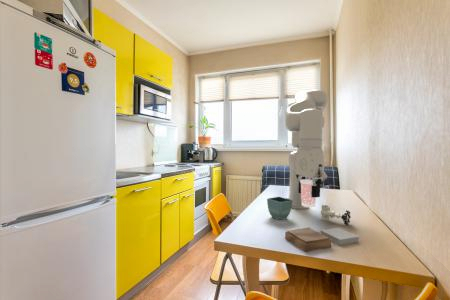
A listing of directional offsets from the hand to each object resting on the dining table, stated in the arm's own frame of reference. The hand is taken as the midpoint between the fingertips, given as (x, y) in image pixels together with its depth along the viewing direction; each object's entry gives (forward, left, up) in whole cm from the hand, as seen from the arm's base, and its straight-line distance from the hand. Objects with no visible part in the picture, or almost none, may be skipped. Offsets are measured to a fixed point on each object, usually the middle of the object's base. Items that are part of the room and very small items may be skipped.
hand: (308, 194), depth 79 cm
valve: (-14, +27, -18) cm, 35 cm away
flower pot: (-26, +6, -18) cm, 32 cm away
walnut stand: (0, 0, -17) cm, 17 cm away
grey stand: (+1, +14, -17) cm, 22 cm away
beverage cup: (0, 0, -4) cm, 4 cm away
